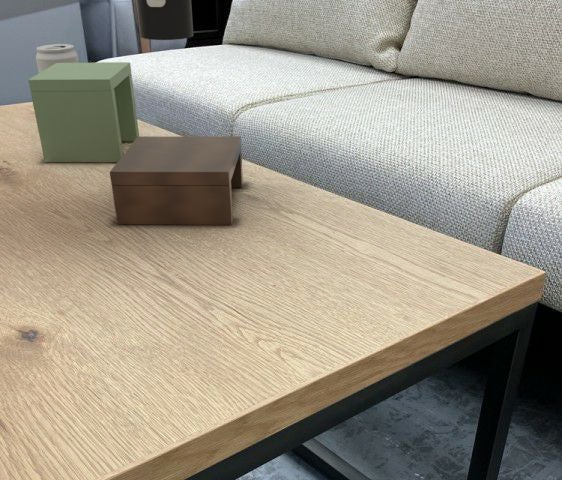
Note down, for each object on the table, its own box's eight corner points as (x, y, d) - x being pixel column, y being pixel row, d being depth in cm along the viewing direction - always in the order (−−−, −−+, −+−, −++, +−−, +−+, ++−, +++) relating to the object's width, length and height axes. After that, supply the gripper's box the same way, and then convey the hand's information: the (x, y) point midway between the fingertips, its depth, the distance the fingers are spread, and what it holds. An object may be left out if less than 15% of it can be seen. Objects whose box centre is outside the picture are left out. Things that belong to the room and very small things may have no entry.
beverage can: (96, 122, 117) (84, 44, 110) (72, 132, 112) (57, 50, 105) (66, 119, 119) (52, 41, 112) (40, 128, 114) (24, 48, 108)
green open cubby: (44, 162, 99) (27, 79, 93) (69, 138, 109) (56, 62, 103) (121, 162, 98) (109, 79, 92) (139, 138, 108) (130, 62, 102)
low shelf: (117, 224, 79) (109, 171, 76) (143, 183, 91) (137, 136, 87) (231, 225, 78) (228, 171, 75) (243, 183, 90) (241, 136, 87)
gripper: (140, -158, 74) (153, -8, 81) (86, -177, 57) (109, 14, 64) (199, -158, 73) (207, -8, 81) (163, -177, 56) (177, 14, 64)
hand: (163, 2), depth 73 cm, fingers closed on black tin, 5 cm apart
